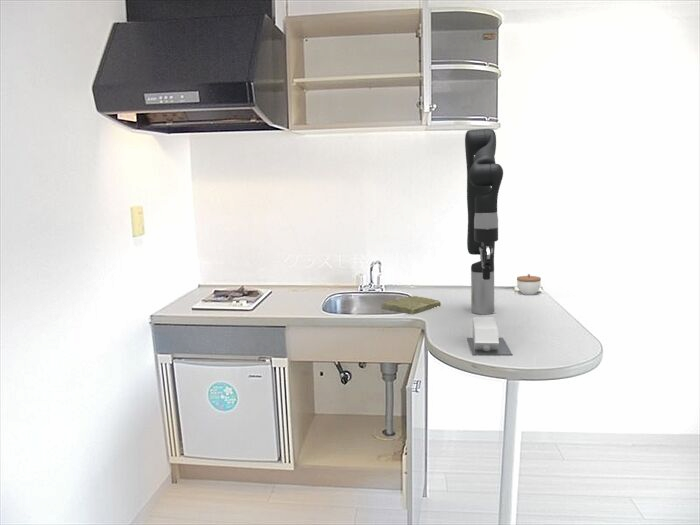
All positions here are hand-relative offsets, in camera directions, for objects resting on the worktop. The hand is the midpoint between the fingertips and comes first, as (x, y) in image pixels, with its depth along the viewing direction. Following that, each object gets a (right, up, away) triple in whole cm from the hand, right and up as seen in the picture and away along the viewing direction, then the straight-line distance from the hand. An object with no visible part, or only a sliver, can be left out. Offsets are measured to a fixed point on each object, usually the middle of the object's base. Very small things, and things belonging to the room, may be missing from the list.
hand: (486, 279), depth 169 cm
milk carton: (+1, -17, +8) cm, 19 cm away
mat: (0, -22, -1) cm, 22 cm away
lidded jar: (+41, -10, +77) cm, 88 cm away
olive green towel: (-18, -15, +59) cm, 63 cm away
